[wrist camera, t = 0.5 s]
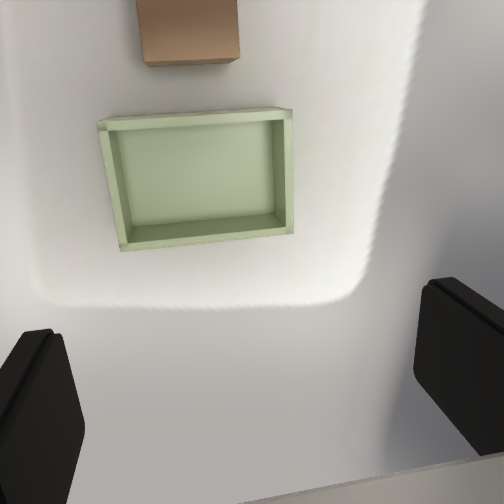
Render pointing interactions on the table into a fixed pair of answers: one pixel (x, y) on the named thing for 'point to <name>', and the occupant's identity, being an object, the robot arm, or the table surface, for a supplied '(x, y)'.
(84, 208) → the table surface
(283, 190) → the box
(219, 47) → the walnut block
